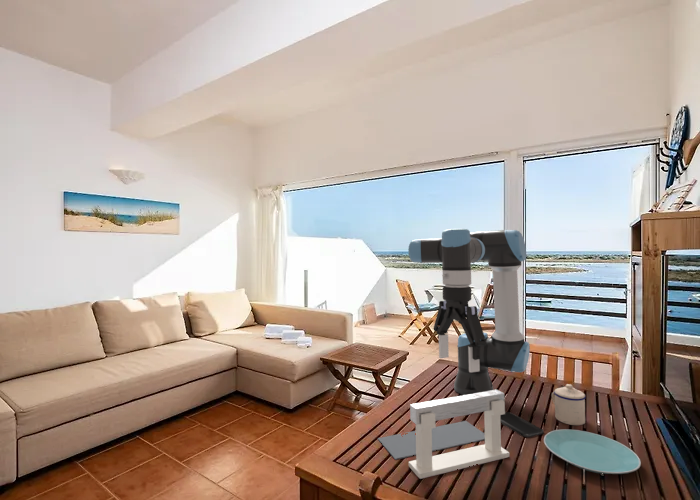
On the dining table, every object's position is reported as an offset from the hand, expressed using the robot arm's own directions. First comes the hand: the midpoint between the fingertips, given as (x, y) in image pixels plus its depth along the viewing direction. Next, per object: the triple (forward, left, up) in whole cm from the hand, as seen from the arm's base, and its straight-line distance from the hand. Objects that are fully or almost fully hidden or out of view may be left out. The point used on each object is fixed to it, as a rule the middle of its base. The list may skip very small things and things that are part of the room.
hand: (458, 364), depth 101 cm
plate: (+11, +34, -27) cm, 45 cm away
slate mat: (-13, 0, -26) cm, 29 cm away
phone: (-11, +30, -27) cm, 42 cm away
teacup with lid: (-9, +49, -27) cm, 56 cm away
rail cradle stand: (0, 0, -26) cm, 26 cm away
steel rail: (0, 0, -13) cm, 13 cm away
